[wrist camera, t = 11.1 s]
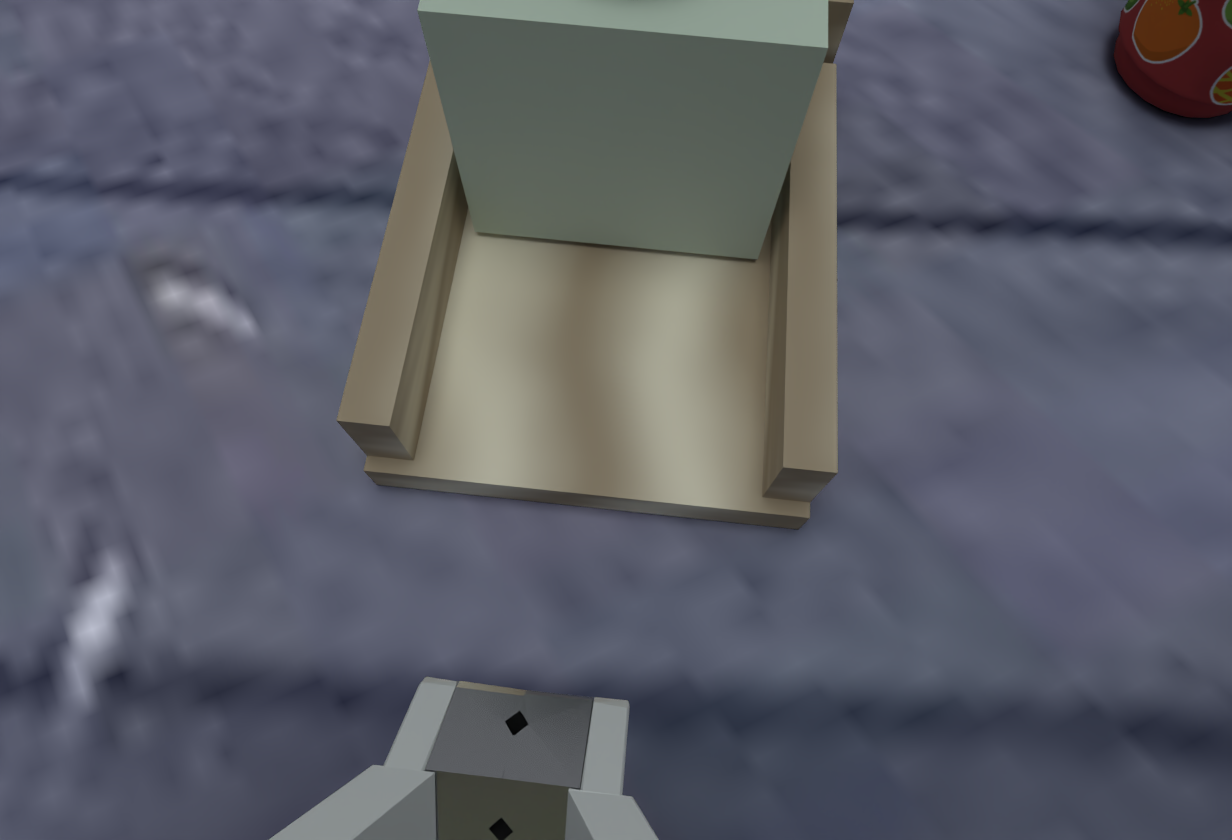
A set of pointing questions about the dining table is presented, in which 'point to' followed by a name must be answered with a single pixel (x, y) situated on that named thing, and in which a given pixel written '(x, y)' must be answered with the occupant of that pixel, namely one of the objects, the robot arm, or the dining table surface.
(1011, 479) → the dining table surface
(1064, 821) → the dining table surface
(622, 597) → the dining table surface
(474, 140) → the slider
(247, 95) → the dining table surface
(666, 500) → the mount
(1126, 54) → the smoothie
